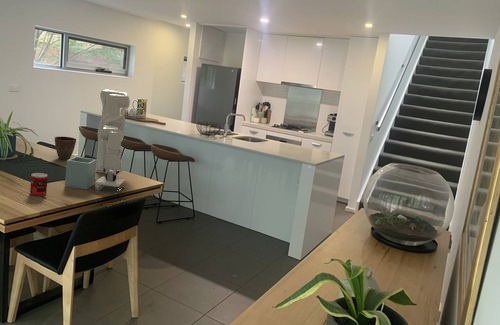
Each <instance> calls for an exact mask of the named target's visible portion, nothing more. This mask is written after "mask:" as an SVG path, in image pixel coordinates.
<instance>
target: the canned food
mask: <svg viewBox="0 0 500 325" xmlns="http://www.w3.org/2000/svg"><path fill="white" fill-rule="evenodd" d="M48 176H49V175H48V174H47V173H43V172H34V173H31V175H30V187H29V188H30V189H29V193H30V195H31V196H34V197H44V196H45V195H47V192H48V190H47V189H48Z"/></svg>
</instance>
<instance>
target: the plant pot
mask: <svg viewBox="0 0 500 325" xmlns="http://www.w3.org/2000/svg"><path fill="white" fill-rule="evenodd" d="M54 144H55V145H54V146H55V150H56V154H57V158H58V160H61V161H67V160H69V159H71V158H72V155H73V153H74V150H75V147H76V144H77V138H74V137H70V136H54Z"/></svg>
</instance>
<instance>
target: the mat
mask: <svg viewBox="0 0 500 325" xmlns="http://www.w3.org/2000/svg"><path fill="white" fill-rule="evenodd" d="M119 187H121V188H122V187H123V186H116V187H114V186H107V185H100V184H99V186H97V188H95V189H94V190H93V191H94V192H100V191H101V193H107V192H109V193H108V194H114V193H117V194H116V195H118V194H119V193H121V192H122V191H123V190H122V189H121V188H119ZM118 188H119V189H121V190H122V191H121V190H120V191H119V189H118ZM117 190H118V191H117Z"/></svg>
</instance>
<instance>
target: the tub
mask: <svg viewBox="0 0 500 325" xmlns="http://www.w3.org/2000/svg"><path fill="white" fill-rule="evenodd" d="M96 163H97V158H96V159H95V158H88V157H81V156H74V157H70V159H69V160H66V168H65V180H64V187H68V188H74V189H75V188H76V189H81V190H82V189H83V190H88V189H90V188H91V187H92V186H95V184H96V183H95V181H96V175H97V174H96V173H97V172H96Z"/></svg>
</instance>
